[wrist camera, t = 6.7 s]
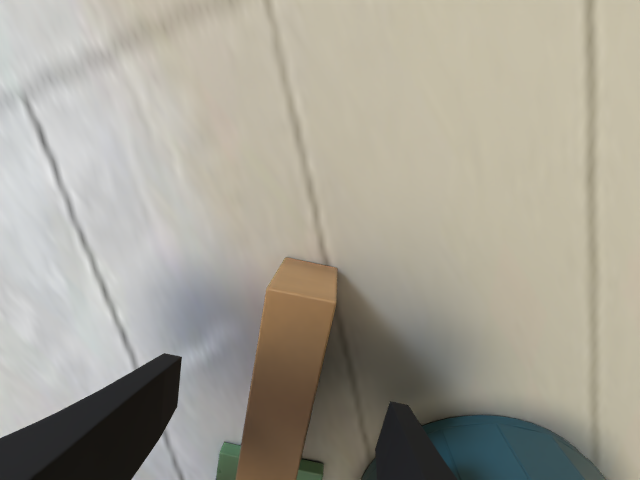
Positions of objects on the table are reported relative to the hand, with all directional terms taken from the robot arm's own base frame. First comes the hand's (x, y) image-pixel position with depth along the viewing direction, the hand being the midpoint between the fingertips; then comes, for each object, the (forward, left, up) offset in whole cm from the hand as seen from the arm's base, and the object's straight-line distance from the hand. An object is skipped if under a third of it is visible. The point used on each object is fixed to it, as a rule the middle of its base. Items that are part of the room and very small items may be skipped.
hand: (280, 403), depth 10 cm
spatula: (-4, 0, -3) cm, 5 cm away
